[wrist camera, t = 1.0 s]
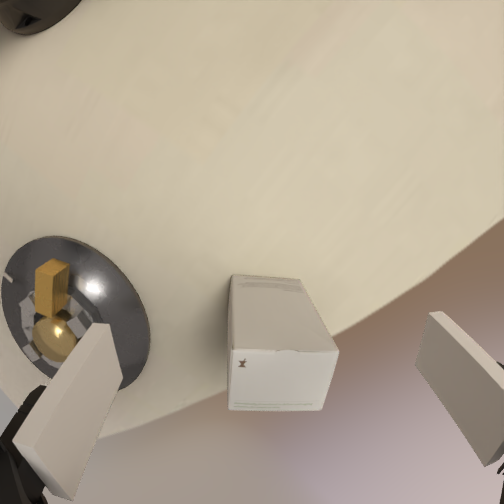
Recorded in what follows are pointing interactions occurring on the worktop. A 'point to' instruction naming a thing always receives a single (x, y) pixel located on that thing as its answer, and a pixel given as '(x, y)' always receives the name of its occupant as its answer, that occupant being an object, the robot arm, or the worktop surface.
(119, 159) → the worktop surface
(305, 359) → the skincare box
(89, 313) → the ring nut
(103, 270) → the bowl
